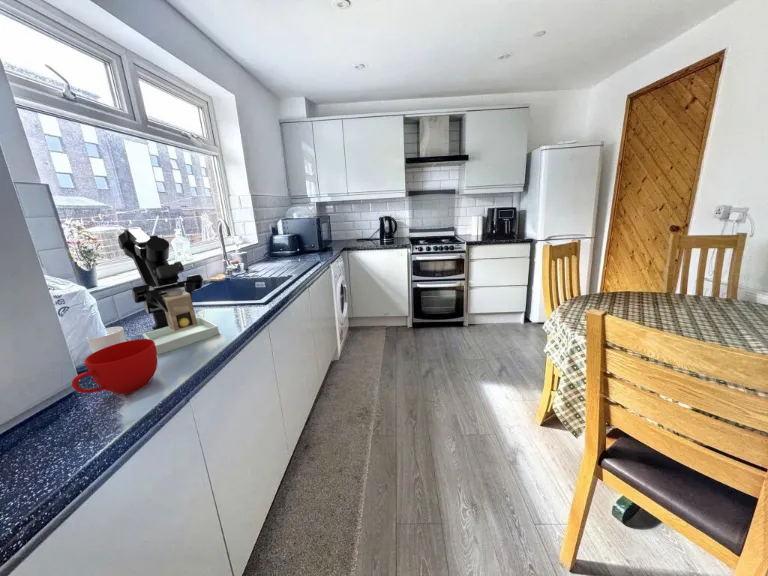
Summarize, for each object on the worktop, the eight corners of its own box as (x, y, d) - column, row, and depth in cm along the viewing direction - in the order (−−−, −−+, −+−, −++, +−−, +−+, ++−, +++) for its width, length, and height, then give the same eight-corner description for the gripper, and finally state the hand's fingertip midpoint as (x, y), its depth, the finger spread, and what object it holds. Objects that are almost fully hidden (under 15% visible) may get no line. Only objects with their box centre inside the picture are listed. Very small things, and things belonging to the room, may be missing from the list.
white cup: (112, 371, 83) (100, 338, 80) (90, 369, 84) (78, 337, 82) (139, 357, 90) (129, 326, 87) (119, 356, 92) (108, 326, 89)
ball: (178, 317, 96) (180, 317, 94) (189, 318, 98) (191, 318, 96) (176, 326, 95) (178, 326, 93) (187, 327, 97) (189, 327, 95)
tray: (144, 341, 101) (142, 333, 100) (202, 324, 114) (200, 316, 113) (157, 355, 91) (154, 346, 90) (219, 333, 103) (217, 325, 103)
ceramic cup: (63, 412, 66) (46, 372, 63) (138, 370, 82) (127, 337, 79) (107, 417, 63) (92, 376, 60) (176, 374, 79) (167, 339, 76)
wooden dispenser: (169, 327, 97) (159, 291, 94) (191, 321, 102) (182, 286, 98) (175, 332, 93) (165, 294, 90) (197, 325, 98) (188, 289, 94)
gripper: (123, 260, 87) (143, 303, 83) (194, 250, 100) (214, 286, 96) (125, 282, 94) (144, 322, 90) (191, 270, 107) (210, 305, 103)
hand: (179, 308), depth 95 cm, fingers closed on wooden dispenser, 6 cm apart
